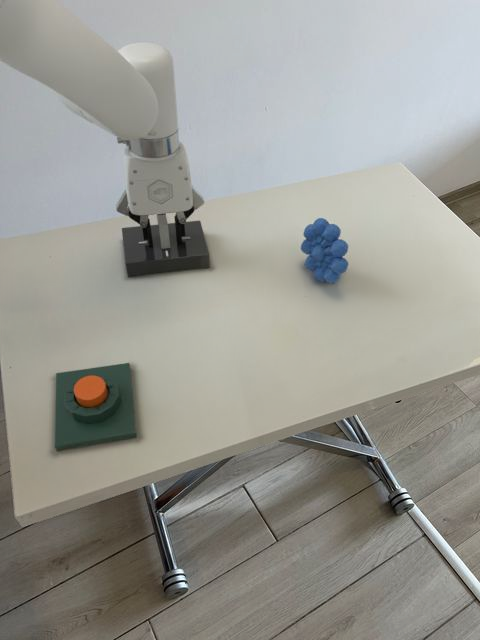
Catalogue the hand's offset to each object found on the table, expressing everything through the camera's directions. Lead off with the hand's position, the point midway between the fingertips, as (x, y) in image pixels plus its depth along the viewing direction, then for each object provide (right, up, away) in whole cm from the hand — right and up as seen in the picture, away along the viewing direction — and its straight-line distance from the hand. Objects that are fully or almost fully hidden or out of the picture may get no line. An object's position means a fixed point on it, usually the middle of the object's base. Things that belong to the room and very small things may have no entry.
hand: (164, 239), depth 92 cm
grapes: (+28, -7, 0) cm, 28 cm away
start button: (-6, -25, -22) cm, 34 cm away
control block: (-6, -27, -20) cm, 34 cm away
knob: (0, 0, 0) cm, 0 cm away
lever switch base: (0, -2, +2) cm, 3 cm away
